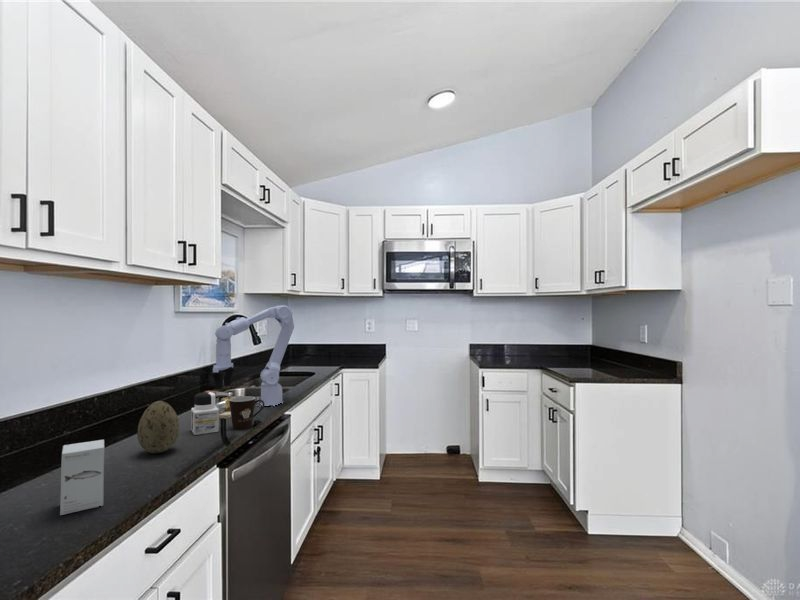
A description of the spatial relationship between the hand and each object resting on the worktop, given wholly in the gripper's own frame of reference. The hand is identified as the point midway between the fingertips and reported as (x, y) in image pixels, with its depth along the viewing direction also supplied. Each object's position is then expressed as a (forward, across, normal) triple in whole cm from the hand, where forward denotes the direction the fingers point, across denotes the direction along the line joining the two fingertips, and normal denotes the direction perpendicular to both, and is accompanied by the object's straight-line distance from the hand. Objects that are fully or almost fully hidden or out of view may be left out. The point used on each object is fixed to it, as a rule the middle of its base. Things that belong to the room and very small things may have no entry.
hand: (223, 387), depth 175 cm
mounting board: (+10, +4, +3) cm, 11 cm away
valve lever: (+3, +2, -1) cm, 4 cm away
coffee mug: (+10, +24, +20) cm, 33 cm away
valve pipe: (+8, +4, +4) cm, 10 cm away
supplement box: (+10, +84, +8) cm, 85 cm away
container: (+10, +29, +7) cm, 32 cm away
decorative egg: (+10, +51, +5) cm, 52 cm away
